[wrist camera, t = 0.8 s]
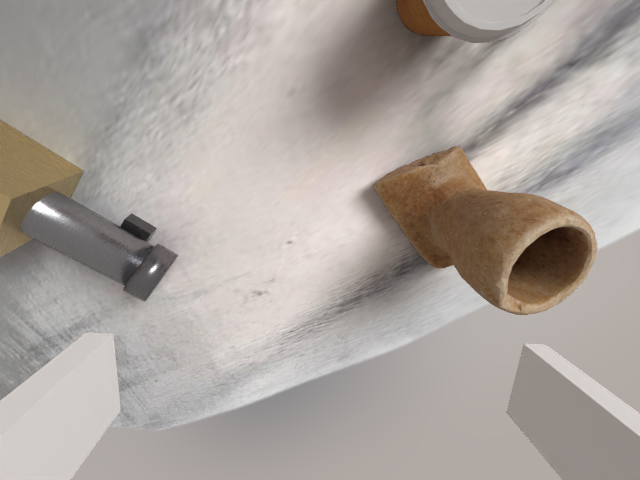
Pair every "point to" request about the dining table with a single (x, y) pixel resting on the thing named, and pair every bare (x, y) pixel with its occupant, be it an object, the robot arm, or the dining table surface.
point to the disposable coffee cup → (470, 17)
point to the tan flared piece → (490, 233)
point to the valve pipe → (71, 218)
